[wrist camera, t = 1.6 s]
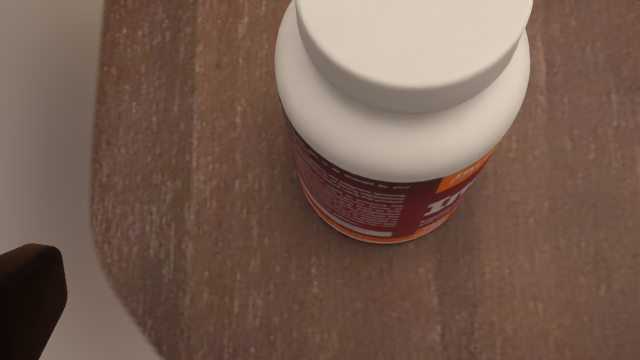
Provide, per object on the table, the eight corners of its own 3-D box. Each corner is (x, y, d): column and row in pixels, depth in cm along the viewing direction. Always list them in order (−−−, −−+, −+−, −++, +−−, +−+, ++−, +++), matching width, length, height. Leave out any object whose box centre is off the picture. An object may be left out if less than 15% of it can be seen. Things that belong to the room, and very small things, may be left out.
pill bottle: (439, 272, 21) (528, 177, 10) (273, 213, 22) (201, 71, 11) (489, 115, 23) (609, -106, 12) (332, 66, 23) (317, -179, 13)
